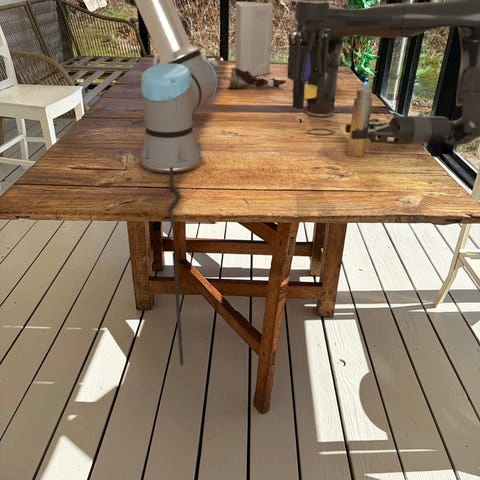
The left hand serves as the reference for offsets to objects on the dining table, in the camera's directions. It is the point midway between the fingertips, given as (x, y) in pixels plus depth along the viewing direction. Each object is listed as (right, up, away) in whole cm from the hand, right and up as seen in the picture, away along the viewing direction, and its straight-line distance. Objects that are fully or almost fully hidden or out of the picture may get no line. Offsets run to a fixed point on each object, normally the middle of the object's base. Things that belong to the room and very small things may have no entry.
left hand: (304, 105), depth 118 cm
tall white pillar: (-10, +43, +99) cm, 109 cm away
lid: (0, +4, -2) cm, 4 cm away
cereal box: (+16, +36, +89) cm, 97 cm away
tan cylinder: (+16, -10, +12) cm, 22 cm away
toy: (-41, +48, +106) cm, 124 cm away
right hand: (+13, -5, +9) cm, 16 cm away
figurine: (-13, +28, +74) cm, 80 cm away
